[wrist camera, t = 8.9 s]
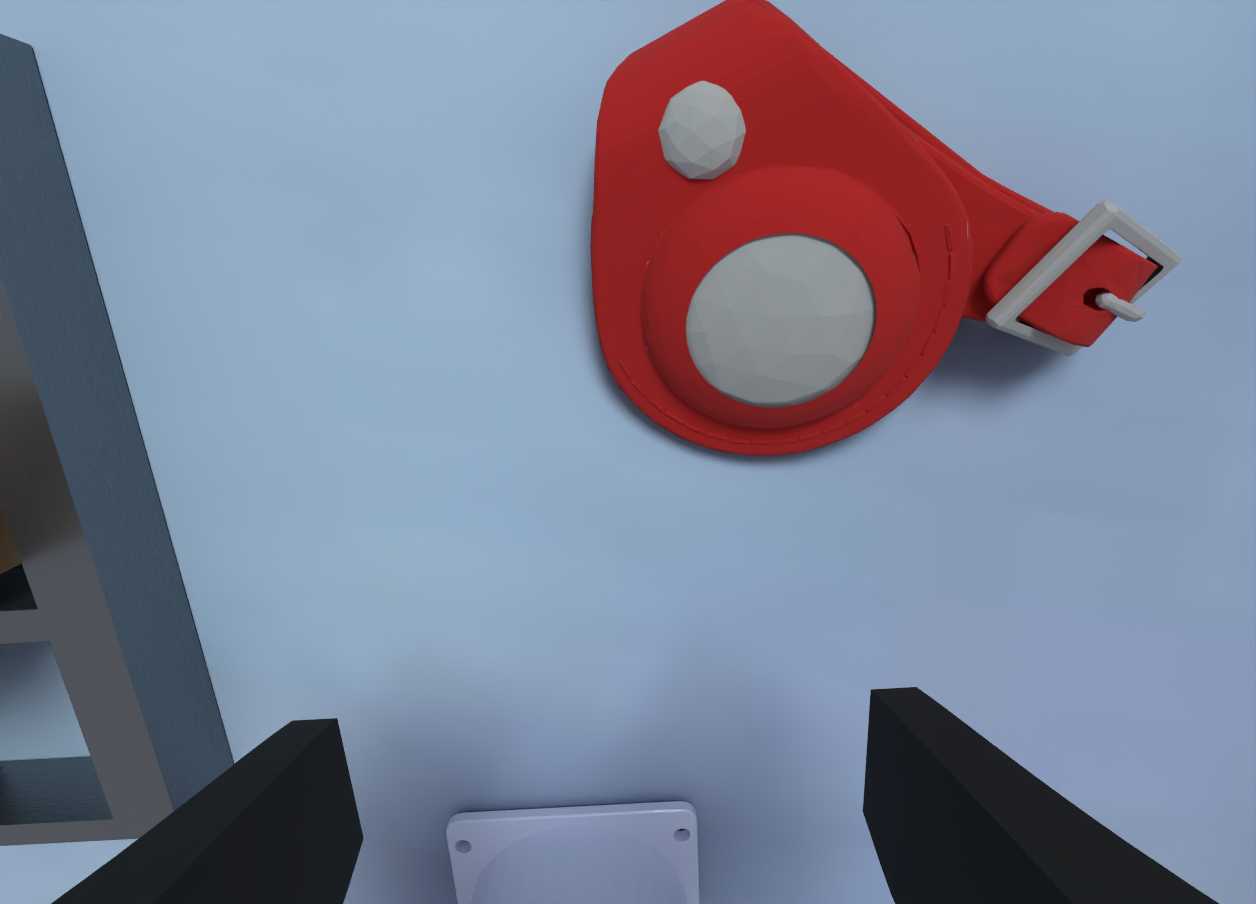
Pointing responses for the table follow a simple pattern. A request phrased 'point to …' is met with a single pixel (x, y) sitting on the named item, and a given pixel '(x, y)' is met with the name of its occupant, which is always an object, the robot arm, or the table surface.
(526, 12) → the table surface
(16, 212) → the rail
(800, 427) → the tracker holder
